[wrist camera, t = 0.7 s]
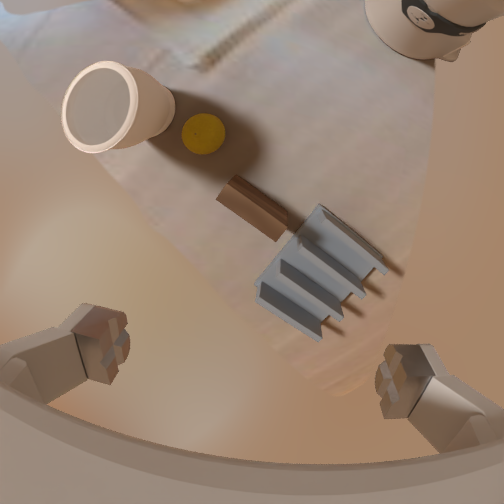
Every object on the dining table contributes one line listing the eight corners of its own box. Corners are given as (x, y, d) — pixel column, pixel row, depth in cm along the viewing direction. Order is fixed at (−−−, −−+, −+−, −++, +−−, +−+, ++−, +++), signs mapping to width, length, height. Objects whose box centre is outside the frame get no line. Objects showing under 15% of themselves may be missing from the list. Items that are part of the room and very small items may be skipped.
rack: (319, 203, 44) (324, 214, 39) (381, 254, 46) (392, 270, 40) (254, 281, 50) (251, 301, 44) (316, 323, 52) (319, 345, 46)
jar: (145, 158, 44) (91, 172, 30) (108, 111, 41) (47, 111, 28) (197, 111, 41) (157, 103, 27) (155, 64, 38) (104, 42, 24)
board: (236, 174, 44) (226, 183, 36) (286, 211, 45) (287, 227, 38) (226, 187, 45) (215, 199, 37) (276, 223, 46) (275, 242, 39)
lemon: (233, 119, 41) (223, 116, 33) (224, 156, 43) (212, 161, 36) (196, 111, 41) (179, 107, 33) (188, 147, 43) (169, 151, 35)
